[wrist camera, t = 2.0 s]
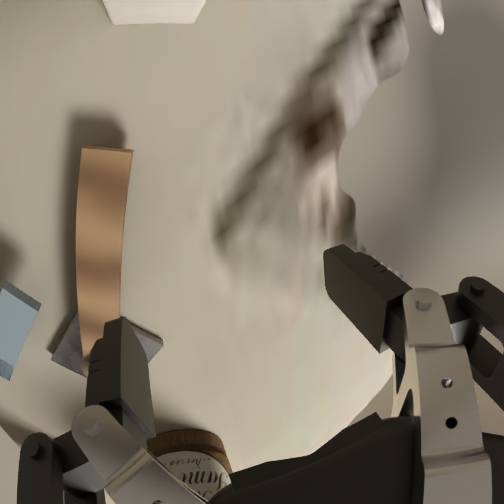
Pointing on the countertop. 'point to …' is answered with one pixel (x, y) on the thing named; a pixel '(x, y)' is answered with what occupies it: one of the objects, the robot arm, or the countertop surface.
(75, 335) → the pivot base
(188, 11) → the medicine bottle
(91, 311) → the link
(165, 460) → the wooden container
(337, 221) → the countertop surface
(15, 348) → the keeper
